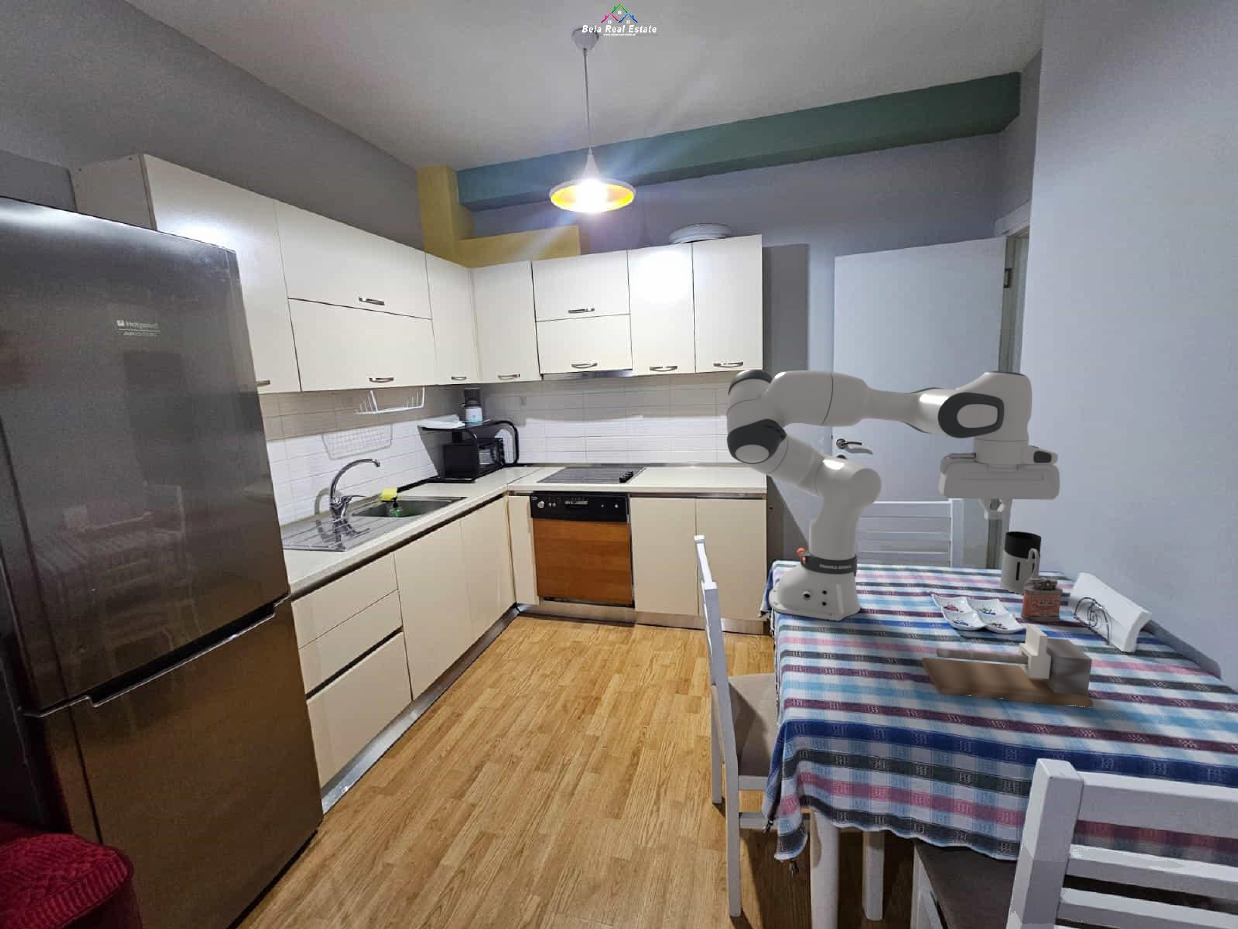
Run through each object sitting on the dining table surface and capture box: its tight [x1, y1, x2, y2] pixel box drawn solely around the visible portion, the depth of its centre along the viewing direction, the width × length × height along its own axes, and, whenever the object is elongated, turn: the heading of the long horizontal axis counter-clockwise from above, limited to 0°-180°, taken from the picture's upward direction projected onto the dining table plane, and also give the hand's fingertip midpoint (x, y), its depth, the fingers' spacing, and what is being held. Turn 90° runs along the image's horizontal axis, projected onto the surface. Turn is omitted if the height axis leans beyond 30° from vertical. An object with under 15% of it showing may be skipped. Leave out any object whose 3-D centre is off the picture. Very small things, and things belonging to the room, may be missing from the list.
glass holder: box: [998, 530, 1042, 594], centre depth 135 cm, size 9×14×15 cm, turn 160°
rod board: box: [921, 637, 1094, 708], centre depth 97 cm, size 24×10×8 cm, turn 76°
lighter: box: [1020, 576, 1064, 622], centre depth 122 cm, size 8×3×10 cm, turn 84°
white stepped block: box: [1017, 623, 1051, 679], centre depth 95 cm, size 3×4×8 cm
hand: (993, 519), depth 105 cm, fingers closed
